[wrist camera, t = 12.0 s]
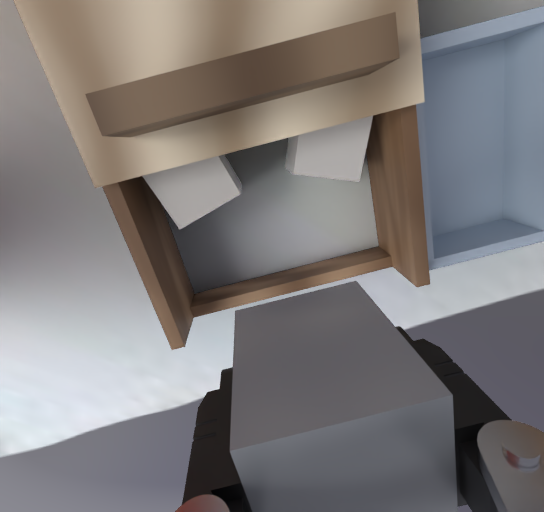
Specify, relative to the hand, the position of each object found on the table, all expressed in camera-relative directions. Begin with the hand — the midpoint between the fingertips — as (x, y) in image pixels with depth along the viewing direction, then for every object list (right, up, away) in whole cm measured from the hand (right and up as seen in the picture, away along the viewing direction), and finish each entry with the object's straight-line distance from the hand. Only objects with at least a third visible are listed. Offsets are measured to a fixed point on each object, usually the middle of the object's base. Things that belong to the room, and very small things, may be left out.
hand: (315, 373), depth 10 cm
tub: (+11, +11, +12) cm, 20 cm away
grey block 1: (-6, +9, +12) cm, 16 cm away
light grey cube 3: (+2, +11, +12) cm, 16 cm away
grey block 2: (0, 0, +1) cm, 1 cm away
